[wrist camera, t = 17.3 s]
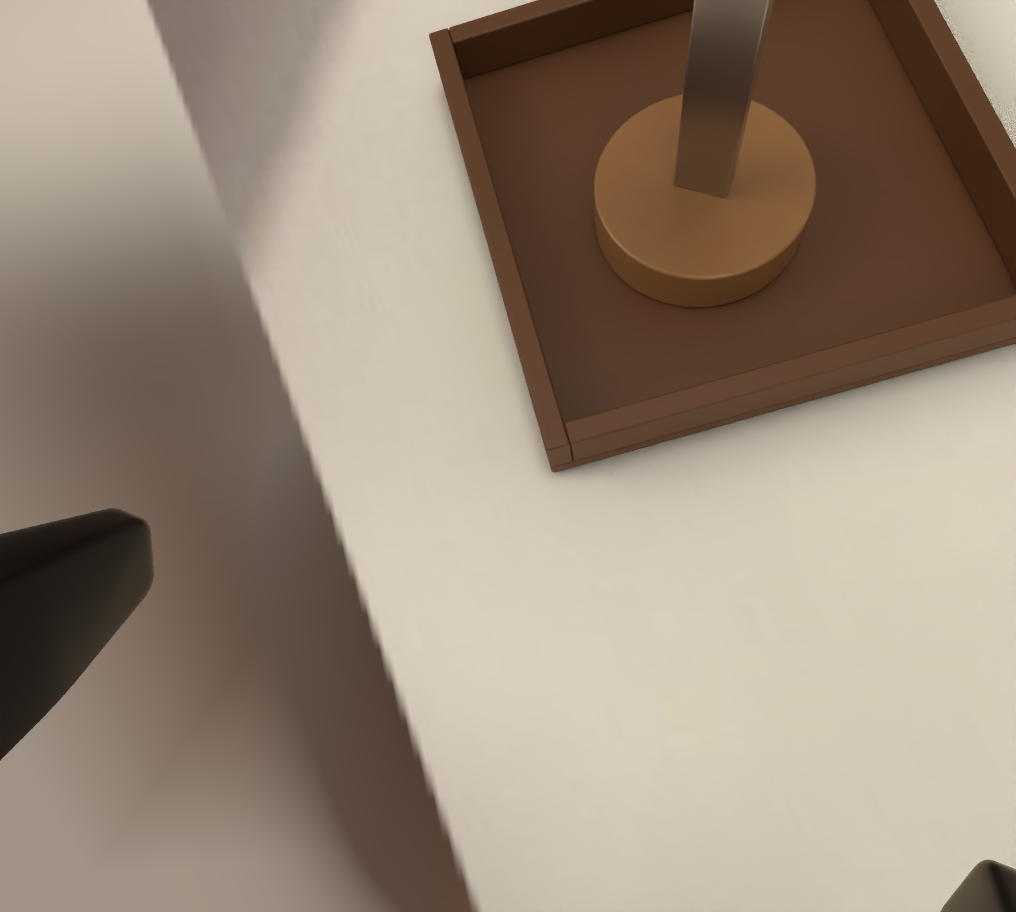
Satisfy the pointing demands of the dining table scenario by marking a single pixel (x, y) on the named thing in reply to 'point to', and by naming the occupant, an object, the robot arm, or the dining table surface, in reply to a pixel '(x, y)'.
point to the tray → (823, 246)
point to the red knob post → (706, 174)
